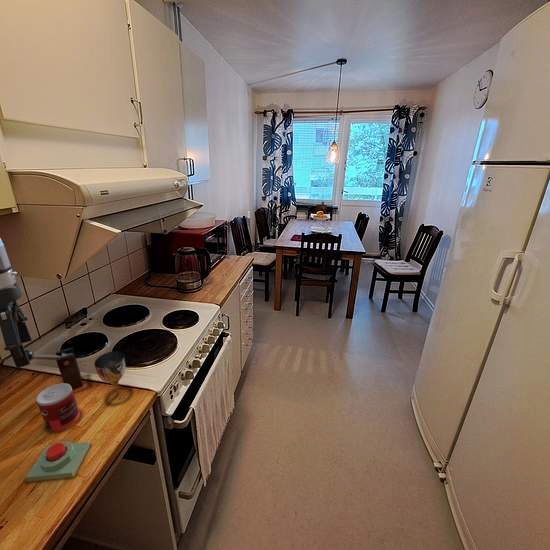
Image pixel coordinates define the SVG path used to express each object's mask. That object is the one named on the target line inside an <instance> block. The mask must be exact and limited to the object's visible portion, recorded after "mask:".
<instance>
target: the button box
mask: <svg viewBox="0 0 550 550" xmlns="http://www.w3.org/2000/svg"><path fill="white" fill-rule="evenodd" d="M58 443H63V444H64V446H65V449H66V452H65V454H64V456H63V457H61V458H60V459H59V460H56V461H53V462H50V461H48V459H47V456H46V452H47V450H48V449H49V448H50V447H51V446H52V445H53V444H50V445H48V444H47V445H46V446H45V447H44V449H43V451H42V452H41V454H40V455H38V458H37V460H35V462H34V464H33V465H32V467H31V468H30V470H29V472H27V474H26V476H25V480H26V482H27V483H29V482H30V483H32V482H40V481H41V482H42V481H50V480H60V479H69V478H70V479H71V478H74V477H75V475H76V473H77V472H78V469H79V467H80V465H81V463H82V462H83V460H84V457H85V456H86V454H87V452H88V450H89V448H90V443H89V441H83V442H70V441H69V440H66V441H59V442H58Z"/></svg>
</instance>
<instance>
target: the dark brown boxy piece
mask: <svg viewBox="0 0 550 550" xmlns="http://www.w3.org/2000/svg"><path fill="white" fill-rule="evenodd" d="M62 353H72V354H70V355H67V356H63V357H60V358H57V359H56V360H55V361H56V364H57V367H58V370H59V374H60V376H61V379H62V383H66V384H69V385H70V386H71V388H72V390H73V391H74V390H76V389H79V388H82V387H83V386H84V383H83V381H82V380H83V378H82V374H81V371H80V366H79V364H78V361H77V358H76V354H75V351H74V348H73V347H68V348H65V349H61V350H58V351H55V355H56V356H61V354H62Z"/></svg>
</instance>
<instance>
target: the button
mask: <svg viewBox="0 0 550 550" xmlns="http://www.w3.org/2000/svg"><path fill="white" fill-rule="evenodd" d="M51 445H52V446H51V447H50V448H49V449H48V450H47V452H46V456H47V459H48V461H50V462H53V461H56V460H59V459H60V458H61V457H63V456H64V454H65V452H66V449H65V446H64V444H63V443H59V442H56V443H54V444H51Z"/></svg>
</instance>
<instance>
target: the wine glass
mask: <svg viewBox="0 0 550 550" xmlns="http://www.w3.org/2000/svg"><path fill="white" fill-rule="evenodd" d="M93 363H94V364H93V365H94V368H95V372H96V374H97V376H98V377H99V379H100V380H101V381H102V382H105V383H107V384H111V385H112V386H113V387H114V389H115V390H114V391H115V393H116V396H120V395H121V393H120V389H119V382H120V381H121V380H122V378H123V376H124V375H125V373H126V369H127V364H126V363H127V361H126V357H125V354H124V353H123V352H122V351H116V350H115V351H109V352H106V353H103V354H102V355H99V356H98V357H97V358H96V359H95V360H94V362H93Z"/></svg>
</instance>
